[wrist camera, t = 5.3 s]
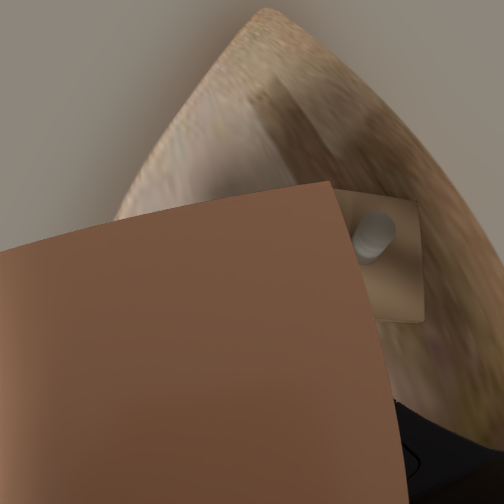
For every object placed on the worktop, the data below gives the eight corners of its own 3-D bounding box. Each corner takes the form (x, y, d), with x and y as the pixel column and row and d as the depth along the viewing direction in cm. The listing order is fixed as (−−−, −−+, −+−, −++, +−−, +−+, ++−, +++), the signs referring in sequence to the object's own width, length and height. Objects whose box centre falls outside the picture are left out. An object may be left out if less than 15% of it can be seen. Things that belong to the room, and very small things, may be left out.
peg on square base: (419, 323, 21) (450, 309, 17) (288, 312, 22) (294, 296, 18) (413, 206, 25) (434, 176, 20) (299, 190, 25) (305, 155, 21)
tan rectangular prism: (297, 439, 13) (410, 618, 1) (199, 454, 13) (12, 600, 1) (270, 310, 15) (282, 69, 3) (177, 327, 15) (-21, 159, 3)
